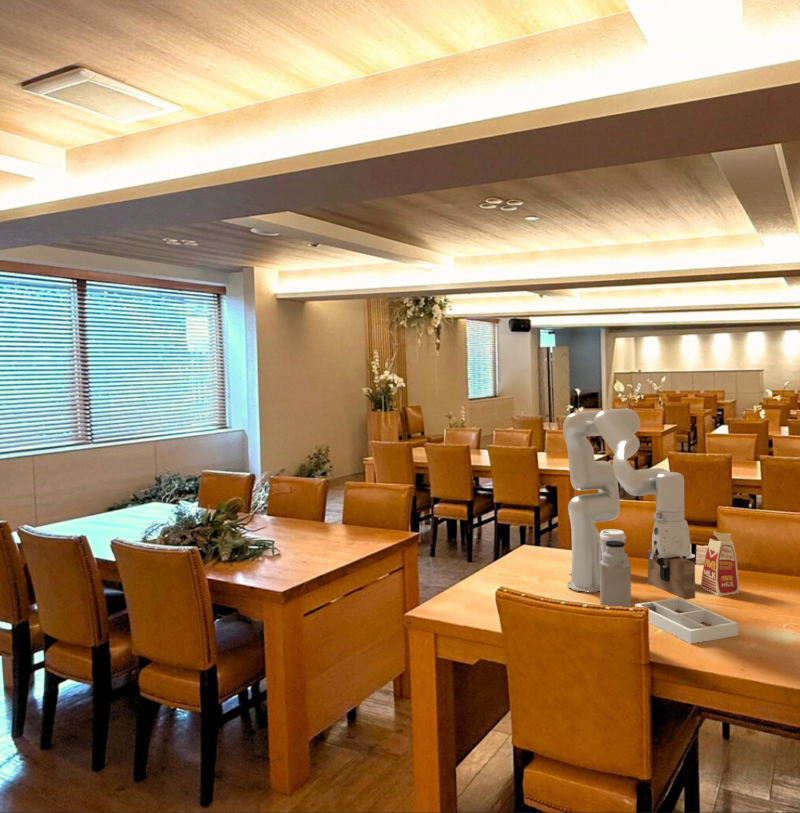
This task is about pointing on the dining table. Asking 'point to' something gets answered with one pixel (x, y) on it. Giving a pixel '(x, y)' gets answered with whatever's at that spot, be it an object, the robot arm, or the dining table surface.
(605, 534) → the coffee cup
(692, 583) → the brown wooden block
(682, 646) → the dining table surface
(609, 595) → the thermos bottle
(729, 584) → the milk carton
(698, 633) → the white compartment tray
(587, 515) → the robot arm
